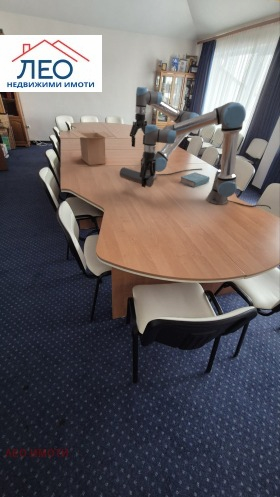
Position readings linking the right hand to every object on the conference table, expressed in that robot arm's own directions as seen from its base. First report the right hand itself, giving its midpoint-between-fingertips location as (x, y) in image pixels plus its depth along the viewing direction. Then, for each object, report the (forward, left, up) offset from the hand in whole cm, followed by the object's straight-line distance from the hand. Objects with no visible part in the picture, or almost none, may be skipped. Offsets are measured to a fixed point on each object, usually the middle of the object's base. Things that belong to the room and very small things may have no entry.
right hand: (146, 185), depth 158 cm
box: (+45, -97, -11) cm, 107 cm away
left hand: (+4, -31, +20) cm, 37 cm away
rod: (+7, -7, -1) cm, 10 cm away
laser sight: (-17, -91, -11) cm, 93 cm away
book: (-50, -39, -11) cm, 64 cm away
